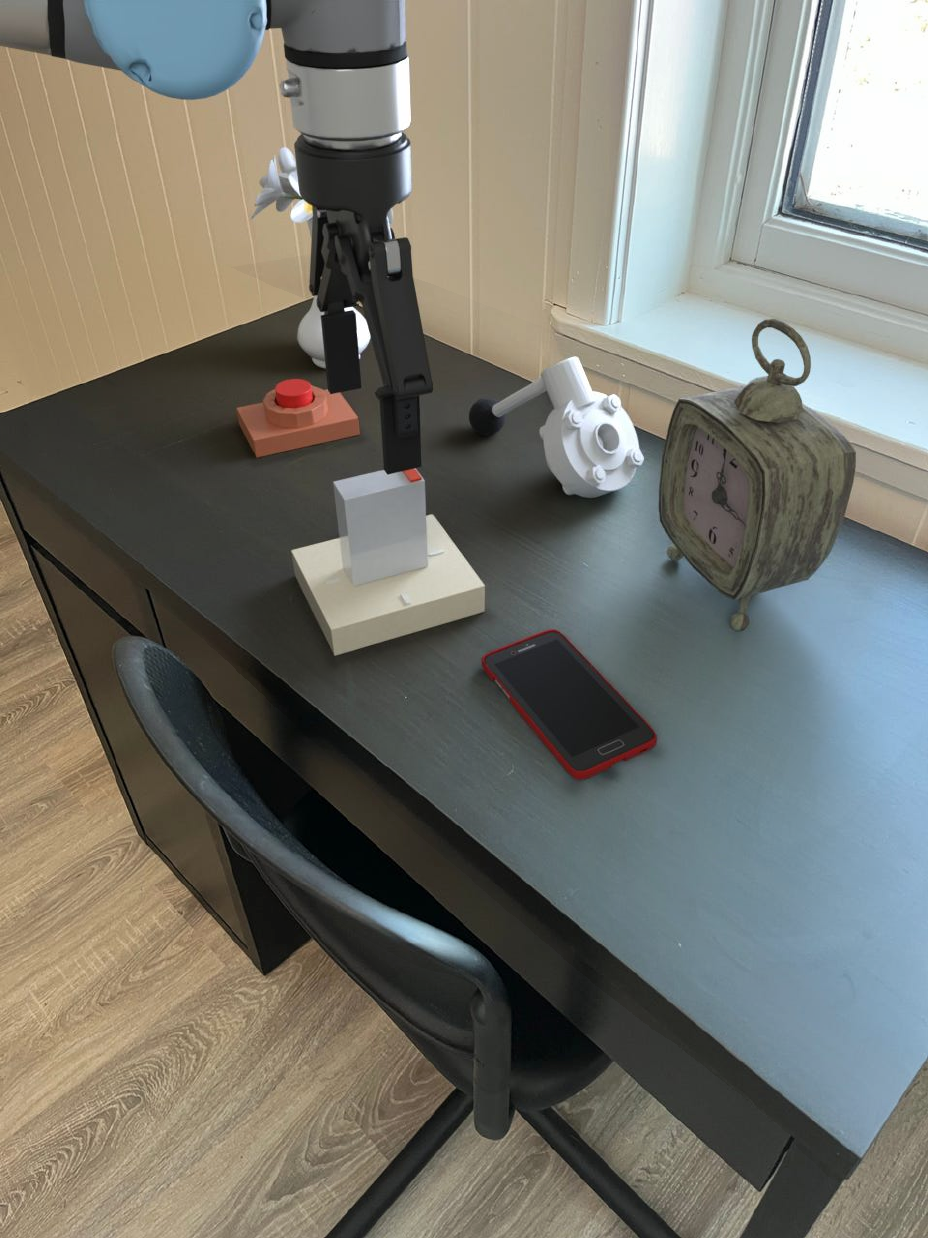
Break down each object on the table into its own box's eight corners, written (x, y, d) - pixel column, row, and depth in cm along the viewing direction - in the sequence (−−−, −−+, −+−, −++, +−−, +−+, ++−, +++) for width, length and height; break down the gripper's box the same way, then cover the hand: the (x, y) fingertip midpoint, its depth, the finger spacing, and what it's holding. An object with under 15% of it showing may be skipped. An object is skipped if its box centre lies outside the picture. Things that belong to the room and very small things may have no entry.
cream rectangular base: (334, 656, 80) (330, 628, 78) (294, 575, 88) (290, 548, 86) (485, 611, 84) (485, 584, 82) (433, 539, 92) (432, 512, 90)
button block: (256, 457, 104) (251, 425, 101) (239, 424, 109) (233, 393, 107) (359, 434, 108) (357, 403, 105) (338, 403, 113) (334, 372, 110)
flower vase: (424, 349, 124) (417, 143, 108) (313, 397, 114) (286, 178, 98) (360, 320, 131) (344, 122, 115) (250, 363, 121) (215, 153, 105)
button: (282, 412, 104) (280, 398, 103) (273, 397, 107) (270, 382, 106) (317, 405, 105) (315, 391, 104) (307, 390, 108) (305, 376, 107)
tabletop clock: (647, 553, 90) (686, 297, 74) (729, 532, 93) (783, 280, 76) (732, 648, 80) (798, 376, 64) (821, 623, 83) (907, 354, 66)
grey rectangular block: (353, 586, 82) (344, 497, 76) (342, 567, 84) (332, 479, 78) (428, 566, 84) (424, 477, 78) (415, 547, 86) (411, 460, 80)
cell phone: (576, 786, 69) (577, 777, 68) (477, 664, 79) (477, 656, 78) (661, 746, 72) (662, 738, 71) (555, 634, 81) (555, 625, 81)
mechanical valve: (594, 501, 92) (533, 356, 90) (489, 541, 106) (435, 417, 105) (660, 469, 97) (603, 333, 96) (551, 511, 112) (501, 393, 111)
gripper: (247, 96, 68) (283, 369, 82) (359, 196, 51) (381, 520, 65) (345, 87, 71) (364, 354, 84) (485, 179, 53) (480, 495, 67)
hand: (371, 426), depth 75 cm, fingers open, 13 cm apart
